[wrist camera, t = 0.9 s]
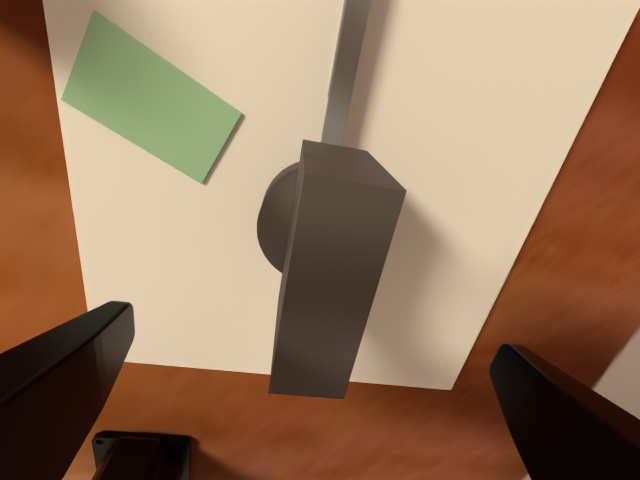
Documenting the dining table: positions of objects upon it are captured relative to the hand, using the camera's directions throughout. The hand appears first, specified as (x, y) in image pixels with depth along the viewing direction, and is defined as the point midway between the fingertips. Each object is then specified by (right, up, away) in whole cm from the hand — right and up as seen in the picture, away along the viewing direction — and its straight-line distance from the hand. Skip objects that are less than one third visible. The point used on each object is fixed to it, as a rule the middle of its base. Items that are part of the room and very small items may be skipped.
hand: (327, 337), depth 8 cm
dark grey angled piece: (0, +6, +6) cm, 9 cm away
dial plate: (0, +4, +9) cm, 10 cm away
